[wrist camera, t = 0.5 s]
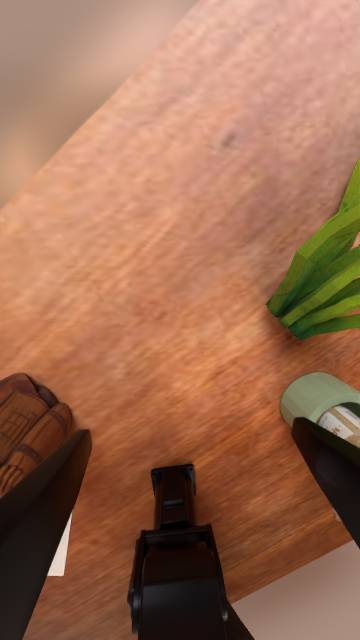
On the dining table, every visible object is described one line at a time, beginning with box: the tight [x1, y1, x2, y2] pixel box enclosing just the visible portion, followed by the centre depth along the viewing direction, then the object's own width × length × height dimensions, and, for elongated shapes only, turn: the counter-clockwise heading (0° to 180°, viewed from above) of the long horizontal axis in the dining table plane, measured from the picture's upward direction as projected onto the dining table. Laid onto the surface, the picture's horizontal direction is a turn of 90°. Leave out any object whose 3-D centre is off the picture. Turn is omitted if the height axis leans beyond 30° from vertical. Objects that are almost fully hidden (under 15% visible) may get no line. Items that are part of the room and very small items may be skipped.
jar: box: [280, 372, 360, 428], centre depth 23 cm, size 9×9×4 cm
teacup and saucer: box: [47, 510, 73, 576], centre depth 26 cm, size 9×8×4 cm
